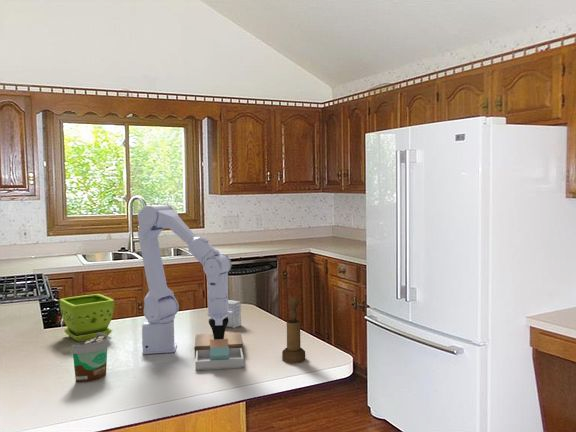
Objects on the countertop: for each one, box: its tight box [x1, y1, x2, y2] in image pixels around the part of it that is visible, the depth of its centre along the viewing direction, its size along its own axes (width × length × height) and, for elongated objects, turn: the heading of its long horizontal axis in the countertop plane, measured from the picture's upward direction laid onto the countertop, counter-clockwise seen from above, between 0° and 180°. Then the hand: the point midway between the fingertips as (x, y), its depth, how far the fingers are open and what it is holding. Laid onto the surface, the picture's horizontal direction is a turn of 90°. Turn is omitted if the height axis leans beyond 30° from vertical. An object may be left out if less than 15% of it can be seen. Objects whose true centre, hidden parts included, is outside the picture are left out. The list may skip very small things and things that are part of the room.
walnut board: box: [194, 331, 244, 359], centre depth 157 cm, size 14×12×4 cm
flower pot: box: [59, 293, 115, 343], centre depth 173 cm, size 14×14×13 cm
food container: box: [70, 333, 111, 383], centre depth 136 cm, size 12×6×10 cm, turn 168°
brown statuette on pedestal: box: [281, 296, 306, 364], centre depth 148 cm, size 7×6×18 cm
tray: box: [194, 348, 245, 372], centre depth 146 cm, size 13×10×2 cm
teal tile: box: [210, 347, 229, 360], centre depth 142 cm, size 5×5×2 cm
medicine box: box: [226, 299, 242, 329], centre depth 185 cm, size 8×4×9 cm, turn 58°
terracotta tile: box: [210, 339, 228, 348], centre depth 147 cm, size 5×5×2 cm
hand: (218, 343), depth 150 cm, fingers closed
